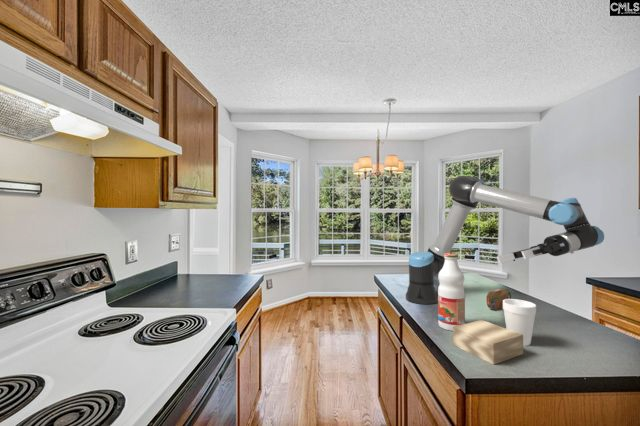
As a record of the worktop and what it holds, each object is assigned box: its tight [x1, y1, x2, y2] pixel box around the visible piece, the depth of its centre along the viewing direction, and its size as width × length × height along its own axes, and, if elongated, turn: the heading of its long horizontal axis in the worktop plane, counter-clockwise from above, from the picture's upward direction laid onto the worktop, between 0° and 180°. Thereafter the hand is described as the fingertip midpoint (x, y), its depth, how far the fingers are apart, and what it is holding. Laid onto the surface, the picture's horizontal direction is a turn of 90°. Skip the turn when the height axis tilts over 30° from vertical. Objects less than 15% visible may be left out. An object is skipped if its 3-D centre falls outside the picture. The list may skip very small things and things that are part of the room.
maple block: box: [452, 319, 524, 365], centre depth 94 cm, size 14×14×6 cm
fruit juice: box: [437, 252, 466, 332], centre depth 112 cm, size 9×9×28 cm
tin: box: [486, 288, 512, 311], centre depth 134 cm, size 15×3×8 cm, turn 117°
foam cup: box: [502, 298, 537, 347], centre depth 99 cm, size 10×9×13 cm
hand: (510, 257), depth 108 cm, fingers open, 13 cm apart
